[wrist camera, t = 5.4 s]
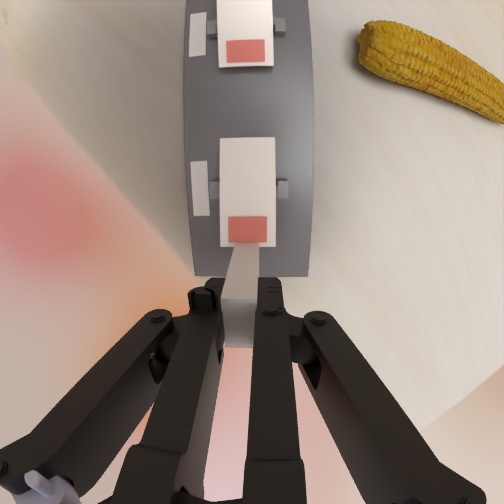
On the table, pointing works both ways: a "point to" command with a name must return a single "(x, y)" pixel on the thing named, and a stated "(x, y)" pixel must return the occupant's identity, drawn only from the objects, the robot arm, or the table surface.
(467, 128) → the table surface
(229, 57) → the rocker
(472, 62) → the food
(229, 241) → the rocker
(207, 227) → the power strip
